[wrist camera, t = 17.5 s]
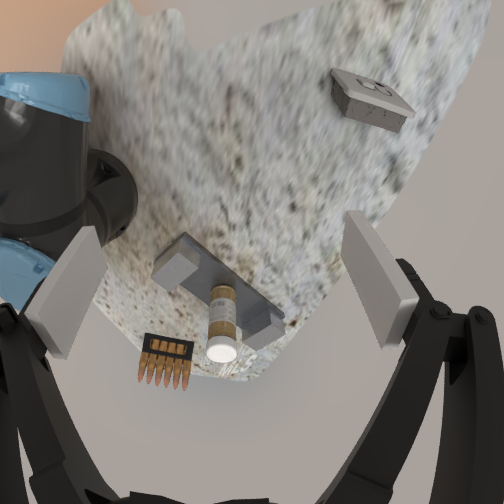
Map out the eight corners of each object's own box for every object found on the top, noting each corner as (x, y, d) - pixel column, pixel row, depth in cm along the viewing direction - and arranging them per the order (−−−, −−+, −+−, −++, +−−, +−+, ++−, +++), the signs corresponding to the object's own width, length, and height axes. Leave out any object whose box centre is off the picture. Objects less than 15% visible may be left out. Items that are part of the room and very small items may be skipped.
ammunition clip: (145, 337, 62) (134, 383, 52) (145, 332, 61) (134, 378, 51) (193, 347, 64) (188, 393, 54) (194, 342, 63) (189, 389, 53)
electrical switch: (390, 86, 36) (421, 101, 29) (380, 117, 39) (408, 139, 32) (330, 66, 35) (352, 75, 27) (321, 100, 38) (340, 117, 31)
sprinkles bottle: (211, 303, 55) (207, 364, 44) (209, 284, 52) (203, 345, 41) (237, 302, 55) (238, 363, 44) (236, 283, 53) (236, 345, 41)
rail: (155, 260, 51) (148, 279, 46) (185, 231, 48) (180, 250, 44) (253, 332, 62) (254, 352, 57) (284, 313, 59) (287, 333, 55)
